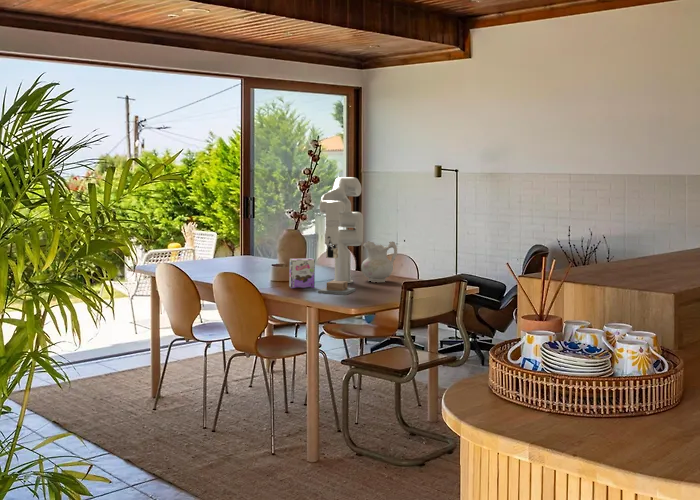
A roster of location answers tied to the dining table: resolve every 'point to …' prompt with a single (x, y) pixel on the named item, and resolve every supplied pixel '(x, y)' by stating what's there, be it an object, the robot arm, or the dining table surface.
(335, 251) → the maple cube
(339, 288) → the grey brown stepped pedestal
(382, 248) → the ceramic pitcher
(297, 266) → the candy box
